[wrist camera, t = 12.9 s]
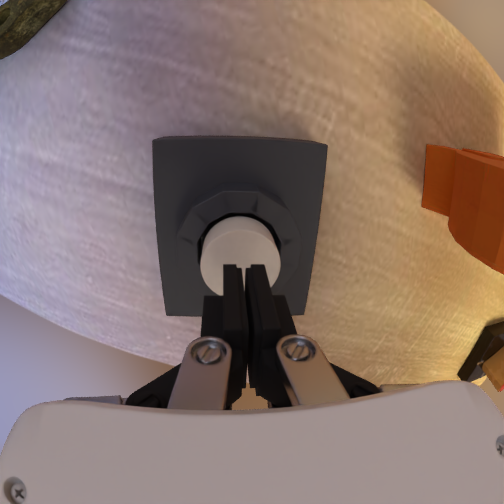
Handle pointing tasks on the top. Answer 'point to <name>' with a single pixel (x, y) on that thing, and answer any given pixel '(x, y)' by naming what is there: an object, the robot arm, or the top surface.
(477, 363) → the panel
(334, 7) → the top surface
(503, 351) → the knob
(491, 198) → the alarm clock
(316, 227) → the dark grey button base
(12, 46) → the decorative stone
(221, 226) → the white push button
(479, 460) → the robot arm
